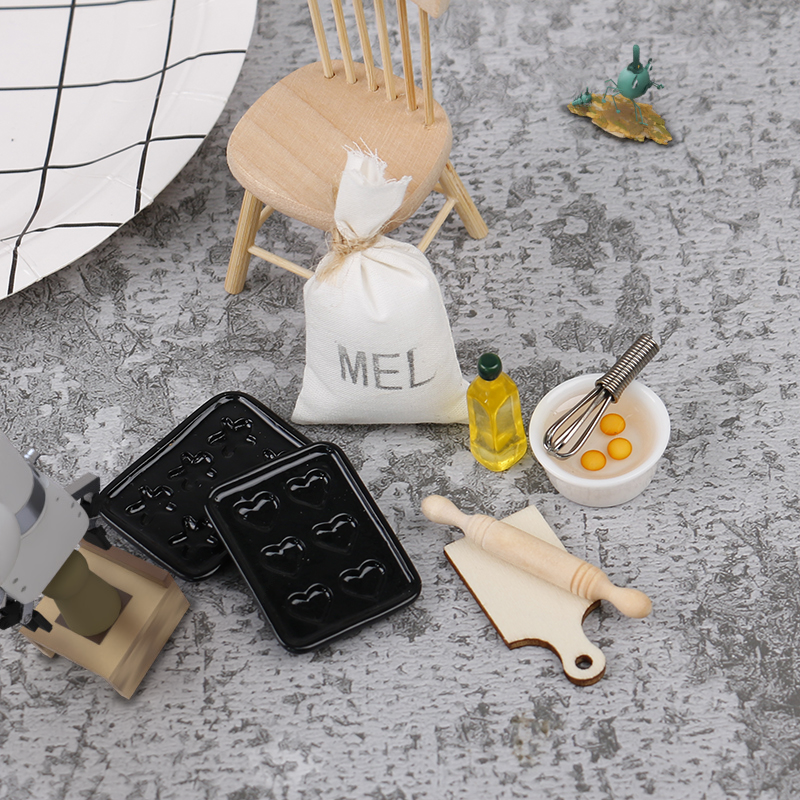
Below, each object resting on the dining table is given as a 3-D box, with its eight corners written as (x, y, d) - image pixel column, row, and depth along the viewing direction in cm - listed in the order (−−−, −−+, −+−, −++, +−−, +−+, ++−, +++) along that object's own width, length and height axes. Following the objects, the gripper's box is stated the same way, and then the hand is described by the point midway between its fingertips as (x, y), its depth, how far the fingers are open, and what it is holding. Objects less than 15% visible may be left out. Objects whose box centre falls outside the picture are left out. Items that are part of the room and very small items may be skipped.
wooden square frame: (129, 699, 102) (101, 672, 95) (43, 654, 106) (10, 624, 98) (190, 604, 108) (169, 571, 100) (107, 564, 111) (80, 529, 104)
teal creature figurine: (591, 83, 155) (610, 5, 142) (684, 136, 149) (712, 59, 136) (556, 113, 151) (572, 35, 138) (650, 169, 145) (676, 92, 133)
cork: (106, 572, 103) (69, 526, 94) (131, 613, 100) (95, 570, 91) (55, 604, 101) (13, 560, 92) (79, 647, 98) (38, 606, 89)
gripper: (28, 410, 86) (92, 500, 100) (-105, 569, 78) (-15, 643, 92) (93, 438, 84) (149, 526, 98) (-37, 605, 76) (45, 675, 90)
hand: (70, 582), depth 95 cm, fingers open, 9 cm apart
